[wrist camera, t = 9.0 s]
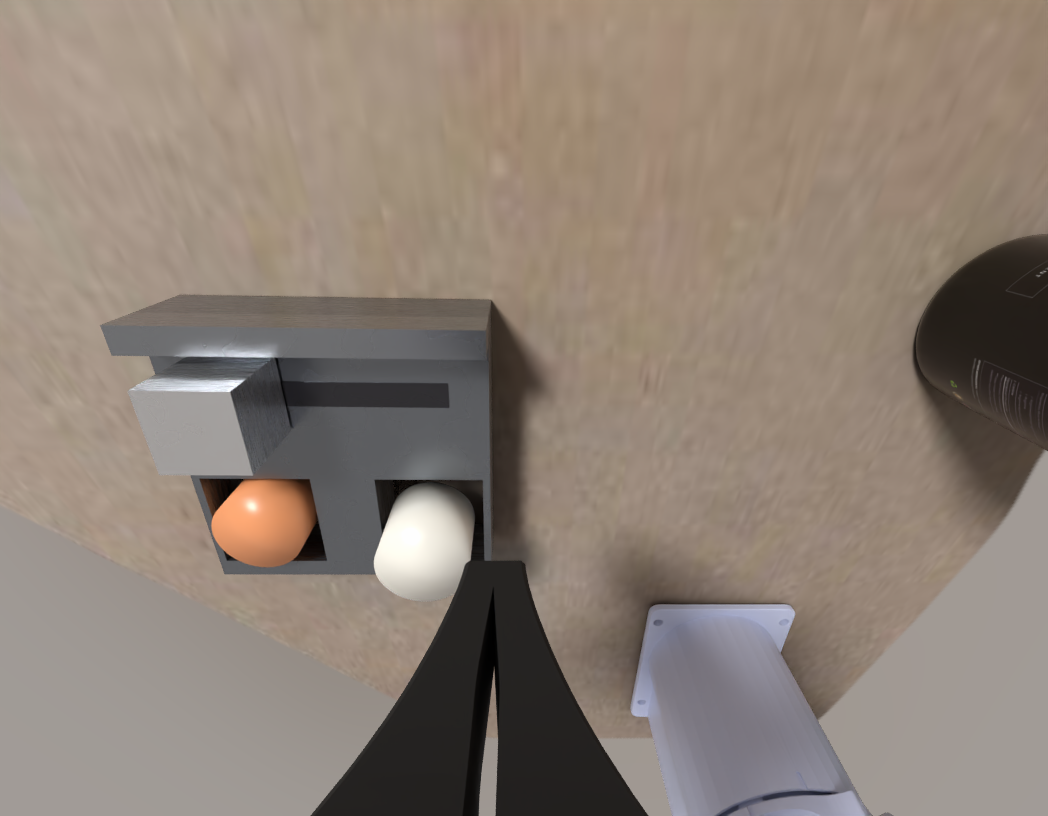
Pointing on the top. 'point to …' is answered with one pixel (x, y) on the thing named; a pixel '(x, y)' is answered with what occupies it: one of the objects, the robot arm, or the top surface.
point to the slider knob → (212, 415)
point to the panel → (344, 404)
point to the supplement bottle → (993, 337)
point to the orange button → (266, 521)
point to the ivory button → (426, 542)
